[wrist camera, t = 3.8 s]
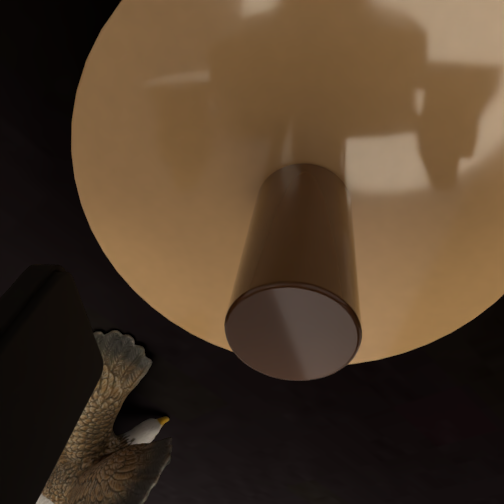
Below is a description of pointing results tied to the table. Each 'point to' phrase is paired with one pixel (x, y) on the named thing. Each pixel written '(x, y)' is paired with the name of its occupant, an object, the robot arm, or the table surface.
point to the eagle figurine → (110, 438)
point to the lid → (299, 171)
